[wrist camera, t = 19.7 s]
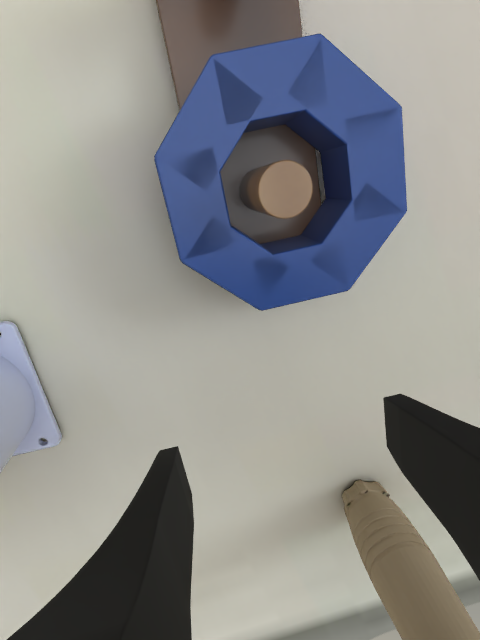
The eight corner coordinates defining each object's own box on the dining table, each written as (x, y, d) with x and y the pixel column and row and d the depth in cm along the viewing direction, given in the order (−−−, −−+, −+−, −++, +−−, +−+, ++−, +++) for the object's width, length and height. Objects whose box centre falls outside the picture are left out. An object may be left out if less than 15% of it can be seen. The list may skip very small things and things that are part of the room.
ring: (195, 305, 20) (196, 326, 17) (142, 92, 17) (131, 70, 14) (376, 263, 21) (410, 276, 18) (359, 49, 17) (397, 17, 14)
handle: (359, 449, 27) (550, 742, 12) (411, 496, 28) (629, 796, 14) (307, 493, 27) (434, 819, 13) (362, 536, 29) (524, 860, 15)
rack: (210, 257, 21) (220, 288, 15) (135, -94, 16) (98, -290, 10) (316, 235, 21) (372, 255, 15) (274, -116, 16) (331, -320, 10)
